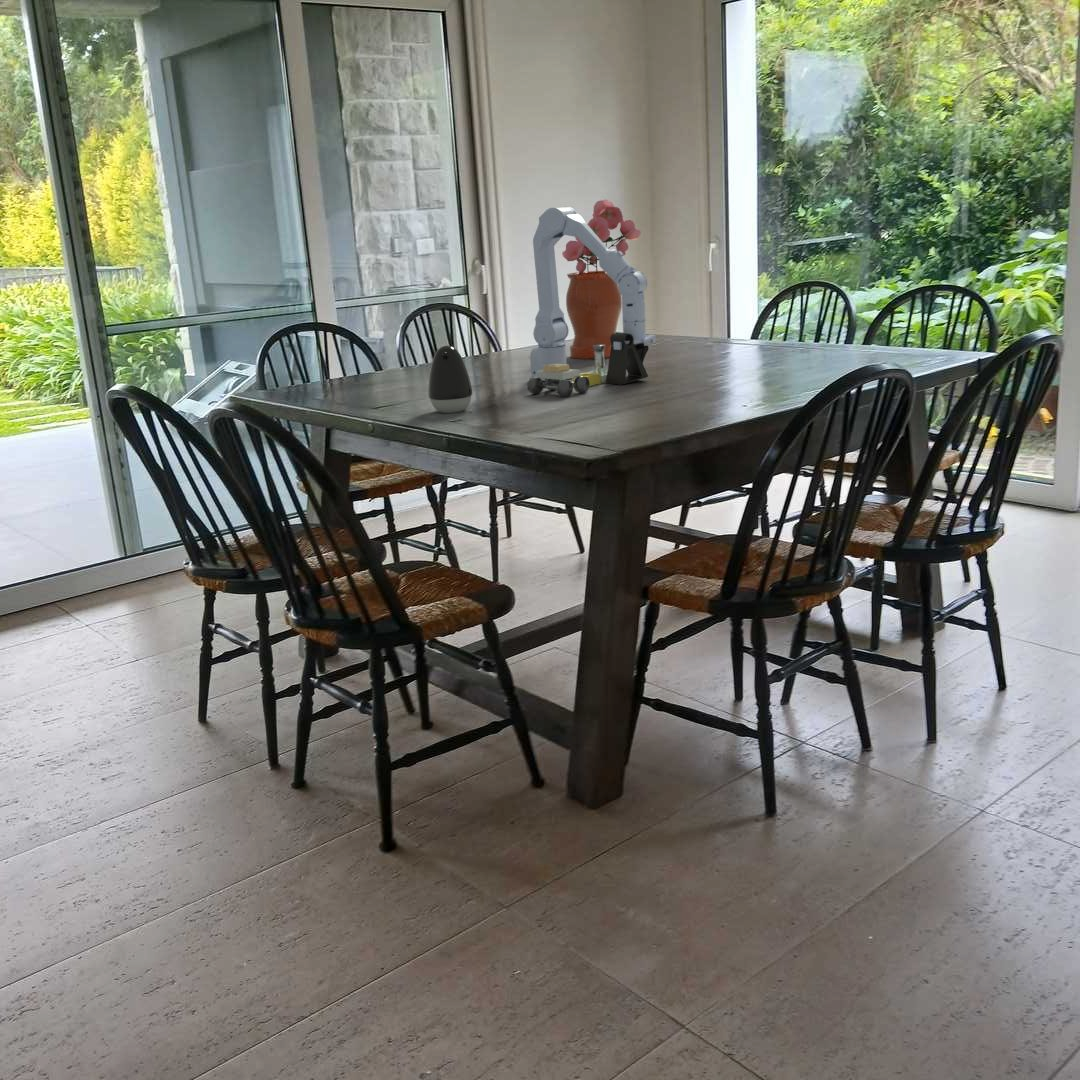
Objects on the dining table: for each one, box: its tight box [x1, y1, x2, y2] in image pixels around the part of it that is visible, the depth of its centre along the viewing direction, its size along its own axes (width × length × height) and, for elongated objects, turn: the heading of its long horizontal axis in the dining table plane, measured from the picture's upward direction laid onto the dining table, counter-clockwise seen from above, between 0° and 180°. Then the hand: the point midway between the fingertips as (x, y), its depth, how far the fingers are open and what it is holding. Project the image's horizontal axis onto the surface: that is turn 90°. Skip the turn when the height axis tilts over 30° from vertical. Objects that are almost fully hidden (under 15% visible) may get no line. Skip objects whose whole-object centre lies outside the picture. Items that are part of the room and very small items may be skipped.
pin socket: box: [572, 372, 602, 387], centre depth 285 cm, size 5×5×2 cm
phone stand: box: [605, 332, 649, 386], centre depth 283 cm, size 9×6×12 cm, turn 121°
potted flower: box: [561, 199, 641, 360], centre depth 331 cm, size 19×25×45 cm
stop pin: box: [593, 345, 606, 375], centre depth 288 cm, size 3×3×9 cm
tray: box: [585, 369, 608, 384], centre depth 290 cm, size 8×7×2 cm
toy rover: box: [527, 363, 590, 398], centre depth 274 cm, size 12×10×7 cm
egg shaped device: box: [427, 345, 473, 414], centre depth 258 cm, size 10×10×15 cm
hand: (636, 374), depth 287 cm, fingers closed, pressing on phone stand
